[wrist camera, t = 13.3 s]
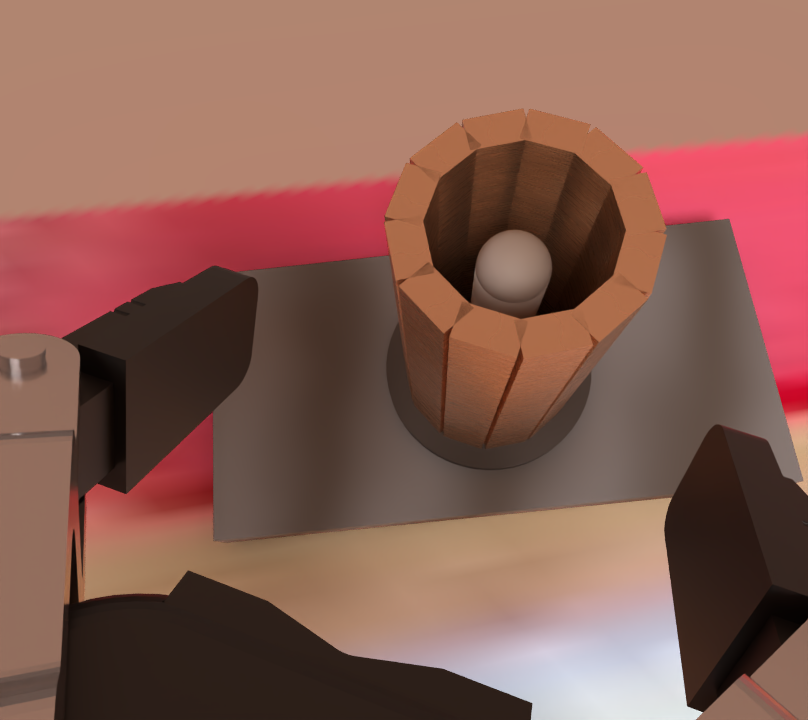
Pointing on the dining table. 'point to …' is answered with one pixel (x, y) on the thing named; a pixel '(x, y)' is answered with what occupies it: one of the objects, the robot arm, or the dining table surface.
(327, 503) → the shaft stand
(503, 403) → the copper collar
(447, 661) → the dining table surface
